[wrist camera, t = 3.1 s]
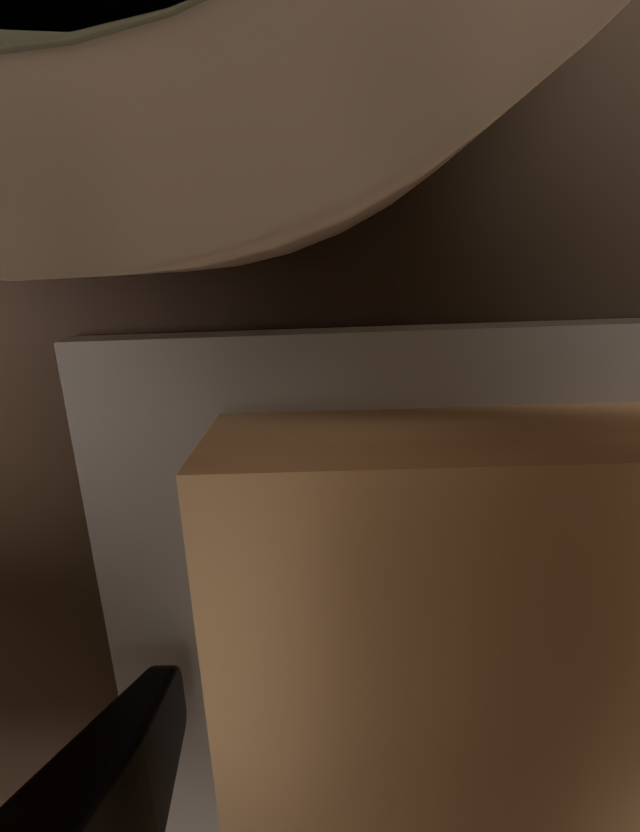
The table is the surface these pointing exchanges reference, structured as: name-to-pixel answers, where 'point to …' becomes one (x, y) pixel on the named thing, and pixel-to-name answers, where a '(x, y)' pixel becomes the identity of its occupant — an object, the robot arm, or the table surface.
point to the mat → (272, 393)
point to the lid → (419, 617)
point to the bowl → (244, 119)
